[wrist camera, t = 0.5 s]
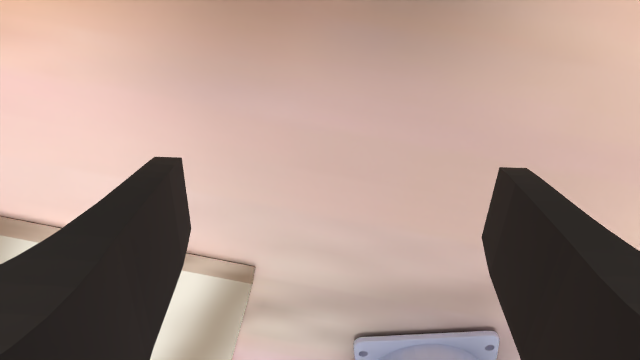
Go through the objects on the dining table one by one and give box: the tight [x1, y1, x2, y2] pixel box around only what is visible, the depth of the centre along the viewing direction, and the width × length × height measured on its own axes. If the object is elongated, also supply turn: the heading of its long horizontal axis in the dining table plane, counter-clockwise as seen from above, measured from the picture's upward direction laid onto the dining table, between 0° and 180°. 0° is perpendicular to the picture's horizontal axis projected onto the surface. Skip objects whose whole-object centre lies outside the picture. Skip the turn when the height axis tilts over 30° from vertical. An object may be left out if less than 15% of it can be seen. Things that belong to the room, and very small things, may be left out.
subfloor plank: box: [0, 216, 255, 360], centre depth 29 cm, size 24×12×1 cm, turn 75°
